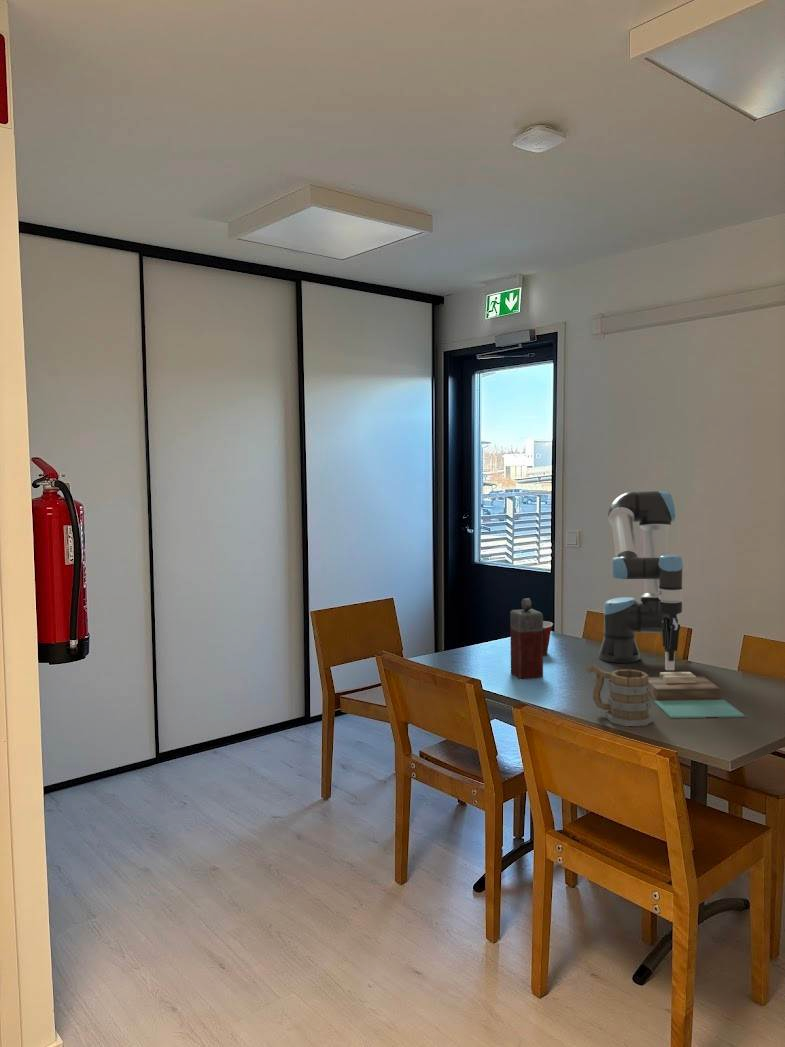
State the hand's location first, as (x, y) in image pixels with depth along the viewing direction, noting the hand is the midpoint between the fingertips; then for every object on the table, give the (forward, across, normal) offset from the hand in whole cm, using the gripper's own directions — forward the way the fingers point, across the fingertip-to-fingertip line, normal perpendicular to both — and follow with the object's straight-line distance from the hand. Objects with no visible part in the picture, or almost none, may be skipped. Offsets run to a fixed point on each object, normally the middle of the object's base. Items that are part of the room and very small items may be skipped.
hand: (669, 669), depth 278 cm
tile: (+2, +8, 0) cm, 8 cm away
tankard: (+6, +33, -26) cm, 42 cm away
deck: (+6, +11, 0) cm, 12 cm away
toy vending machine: (+6, -16, -45) cm, 48 cm away
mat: (+6, +26, 0) cm, 27 cm away
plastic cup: (+6, -49, -36) cm, 61 cm away
